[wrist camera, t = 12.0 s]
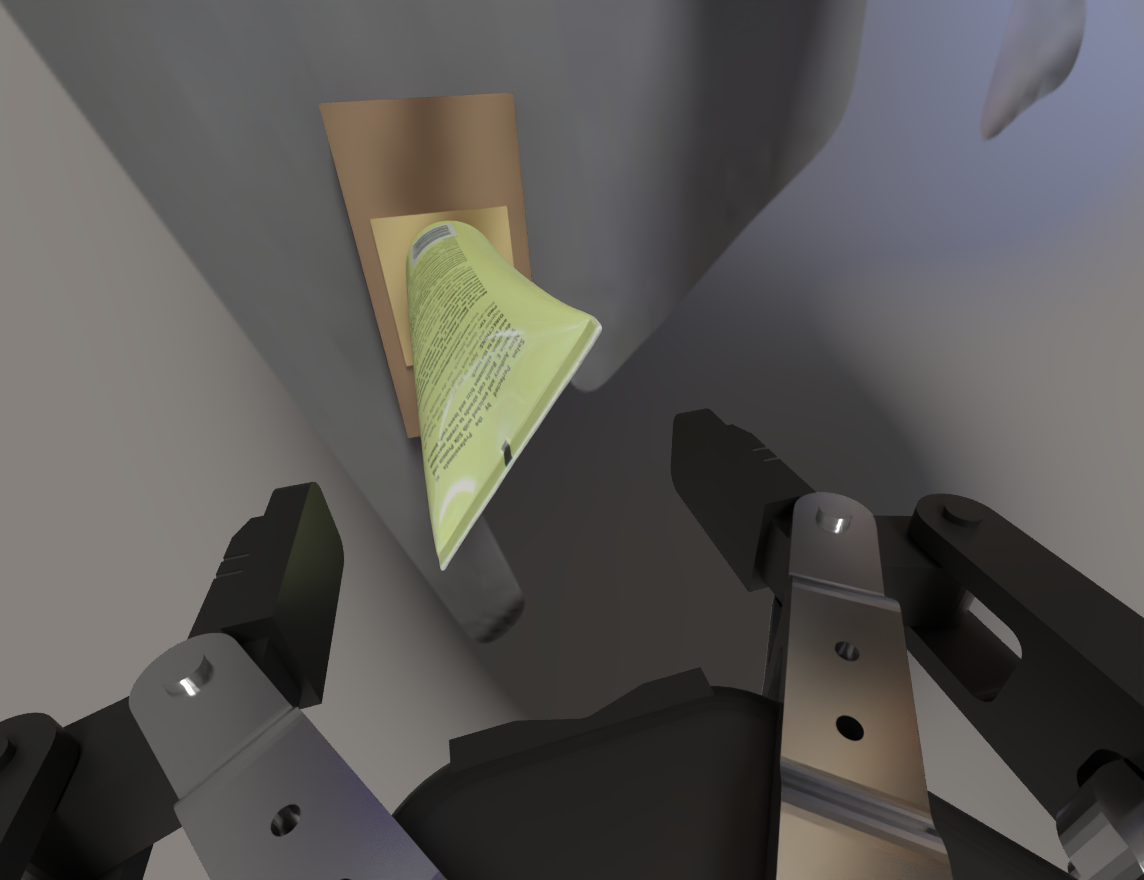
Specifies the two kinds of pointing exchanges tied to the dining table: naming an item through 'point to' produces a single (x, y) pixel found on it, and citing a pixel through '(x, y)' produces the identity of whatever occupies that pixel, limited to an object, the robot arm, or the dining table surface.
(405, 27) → the dining table surface
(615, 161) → the dining table surface
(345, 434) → the dining table surface
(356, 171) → the brown flat panelled slab
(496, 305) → the tube
